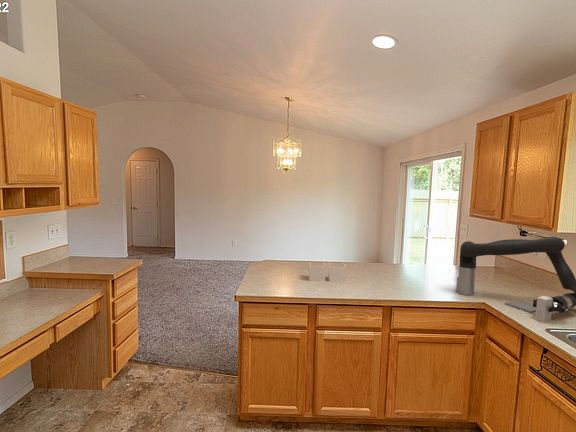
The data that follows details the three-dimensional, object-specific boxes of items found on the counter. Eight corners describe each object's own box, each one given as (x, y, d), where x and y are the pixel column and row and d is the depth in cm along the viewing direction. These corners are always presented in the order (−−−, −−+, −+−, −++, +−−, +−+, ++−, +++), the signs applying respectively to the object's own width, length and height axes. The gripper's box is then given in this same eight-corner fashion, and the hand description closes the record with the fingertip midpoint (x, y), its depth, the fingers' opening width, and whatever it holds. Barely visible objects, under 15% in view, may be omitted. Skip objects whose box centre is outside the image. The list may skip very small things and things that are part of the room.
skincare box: (541, 317, 171) (544, 295, 170) (550, 320, 167) (553, 298, 166) (534, 319, 169) (537, 297, 168) (543, 322, 165) (546, 299, 164)
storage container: (309, 281, 227) (309, 265, 226) (308, 276, 238) (309, 262, 237) (345, 282, 226) (345, 266, 225) (343, 277, 237) (343, 263, 236)
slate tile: (504, 304, 190) (504, 302, 189) (519, 301, 195) (519, 299, 195) (530, 313, 177) (530, 311, 177) (545, 309, 183) (545, 307, 183)
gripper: (545, 292, 179) (527, 296, 172) (576, 300, 166) (558, 305, 159) (543, 305, 180) (525, 309, 173) (575, 315, 167) (557, 320, 160)
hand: (541, 307), depth 166 cm, fingers open, 6 cm apart
